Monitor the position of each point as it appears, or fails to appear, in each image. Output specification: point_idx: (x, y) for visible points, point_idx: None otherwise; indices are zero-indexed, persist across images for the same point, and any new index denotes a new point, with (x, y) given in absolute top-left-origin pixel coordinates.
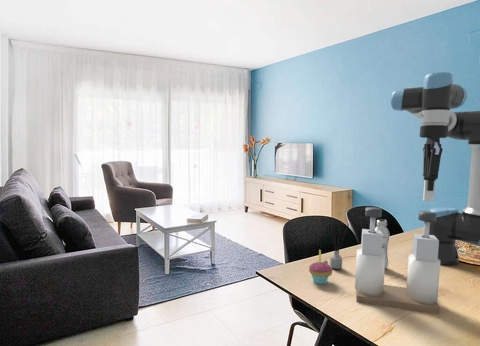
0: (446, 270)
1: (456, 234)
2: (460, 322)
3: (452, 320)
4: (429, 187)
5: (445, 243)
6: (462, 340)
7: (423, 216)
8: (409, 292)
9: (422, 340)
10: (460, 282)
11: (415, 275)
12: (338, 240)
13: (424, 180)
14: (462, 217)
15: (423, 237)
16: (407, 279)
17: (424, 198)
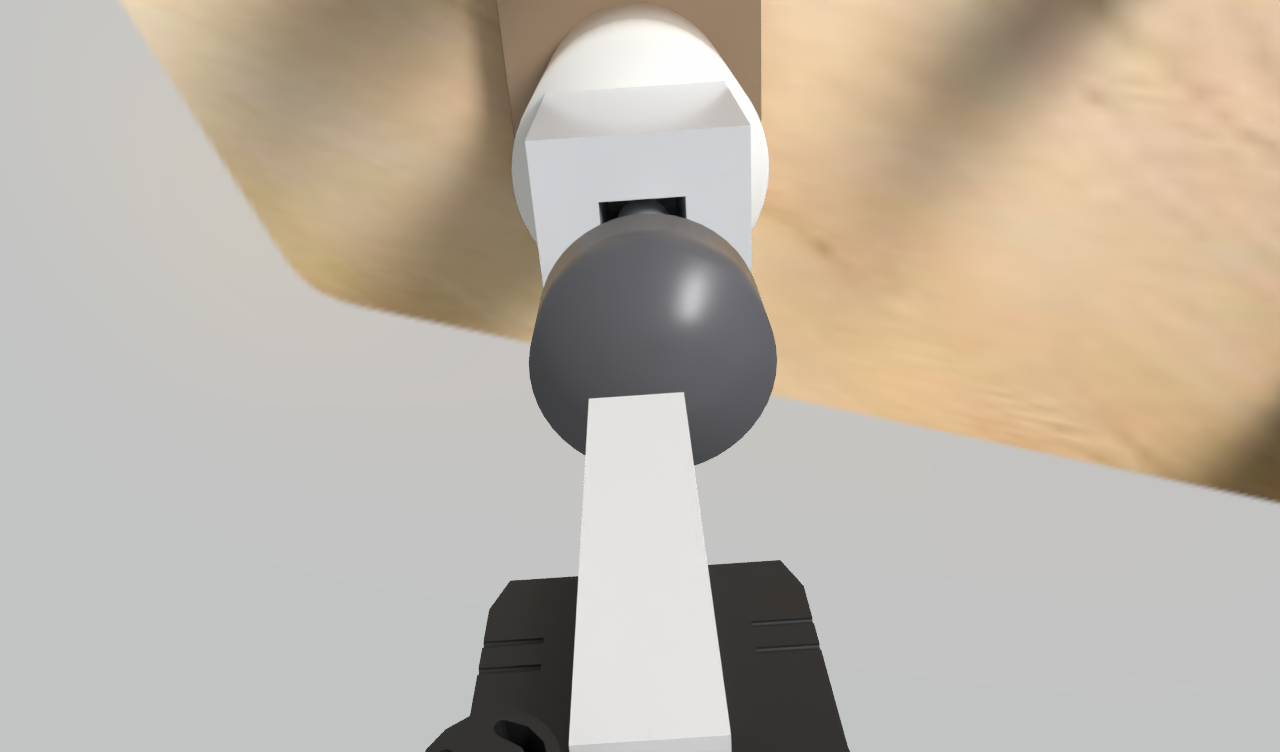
0: (1247, 341)
1: None
2: (476, 270)
3: (479, 236)
4: (483, 661)
5: None
6: (282, 241)
7: (552, 287)
8: (581, 24)
9: (158, 44)
10: (1042, 380)
11: (543, 75)
12: None
13: (722, 712)
14: None
15: (633, 214)
16: (620, 17)
17: (590, 427)
